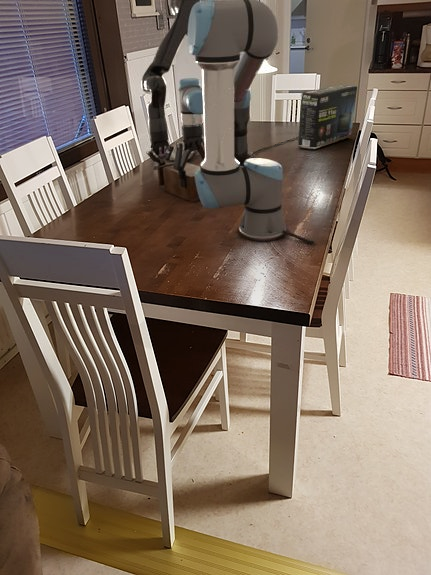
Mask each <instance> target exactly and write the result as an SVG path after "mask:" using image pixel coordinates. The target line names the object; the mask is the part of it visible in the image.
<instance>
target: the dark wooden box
mask: <svg viewBox="0 0 431 575" xmlns="http://www.w3.org/2000/svg"><path fill="white" fill-rule="evenodd" d="M173 167H174V165H172V166H168V167H164V173H165V184H166V186H165V192H166V193H168V194H170V195H174V196H176V197H179V198H181V199H183V200H186V201H189V202H190V203H195V202H197V201H200V198H199V195H198V191H197V187H196V182H195V172H196V171H198V170H199V171H200V165H195V164H192V163H189V162H187V163H186V165H185V168H184V170H185V171H186V185H187V188H184V187H181V181H180V179H179V174H178V170H175V169H173Z"/></svg>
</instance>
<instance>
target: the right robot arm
mask: <svg viewBox="0 0 431 575" xmlns="http://www.w3.org/2000/svg"><path fill="white" fill-rule="evenodd" d="M279 31H280V30H279V24H278V21H277V18H276V16H275V14H274V12H273V11H272V9H271V8H270V7H269V6H268V5H267V4H265V3H264V2H262V1H260V0H200V2H197V3H196V4H194V6H193V7H192V9H191V13H190V17H189V23H188V36H187V48H188V52H189V54H190V55H192V56H194V57H195V58H194V59H195V63H196V65H198V66H199V68H200V69H201V82H200V79H199V78H196V77H186V78H185V77H184V78H181V79H179V81H178V95H179V96H178V97H179V106H180V108H179V109H180V122H181V123H180V124H181V135H182V141H180V142H179V141H177V142H175V145H176V148H177V149H176V155H175V161H174V160H173V163H174V167H173V169H175V170H178V174H179V179H180V181H181V187H184V188H187V185H186V171H185V170H184V168H185V165H186V163H188V160H189V159H188V157H189V155H190V154H191V152H193V151H195V150H197V151H198V154H199V157H200V158H201V159H202V161H201V162H200V163H199V167H200V171H199V170H198V171H196V172H195V182H196V187H197V191H198V195H199V198H200V200H199V201H200V204H201V205H202V207H203V208H205V209H207V210H215V209H217V210H219V209H224V208H232V207H239V206H244V211H243V213H242V216H241V220H240V222H239V226H238V232H239V235H240V236H241V237H242V238H244V239H247V240H250V241H254V242H271V241H277V240H279V239H281V238H283V237H285V235H287V236H289V237H292V238H294V239H298V240H300V241H302V242H305V243H308V244H312V245H313V244H314V243H315V241H314V240H312V239H307V238H305V237H302V236H300V235H298V234H295V233H292V232H290V231H287V223H286V221H285V216H284V214H283V210H282V200H283V183H284V175H283V173H284V172H283V171H284V170H283V166H282V164H280V163H279V162H278V161H275V160H272V159H268V158H263V157H253V158H250V157H249V159H247V160H245V163H244V166H240V164H239V161H238V160H237V159H236V158H235V157H234V110H235V109H236V110H239V109H243V108H247V107H248V106H249V105H250V106H251V99H252V96H251V93H252V92H251V87H252V86H253V83H254V81H255V79H256V77H257V76H258V73H259V71H260V70H261V68H262V66H263V65H264V62H265V60H266V59H268V58H270V57H271V56H272V54H273V53H274V51H275V49H276V47H277V45H278V41H279V37H280V36H279V34H280V32H279ZM202 123H203V125H202ZM184 146H185V147H184ZM183 148H184V149H183ZM187 150H188V151H187ZM182 153H183V154H182Z"/></svg>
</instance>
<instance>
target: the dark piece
mask: <svg viewBox="0 0 431 575" xmlns="http://www.w3.org/2000/svg"><path fill="white" fill-rule="evenodd" d="M172 165H174V162H170V163H168V164H167V163H166V165H162V166H159V167H158V165H155V166H153V167H152V170H154V171H157V179H158V186H159V187H163V186H164V187H166V184H165V173H164V167H168V166H172Z"/></svg>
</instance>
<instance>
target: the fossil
mask: <svg viewBox="0 0 431 575" xmlns="http://www.w3.org/2000/svg"><path fill="white" fill-rule="evenodd" d="M173 147H174V150H173V152H172V154H171V156H170V158H169V160H168V161H173V162H174V161H175V155H176V149H177V148H176V144H175V145H174V146H173ZM184 147H185V146H184ZM183 149H184V148H183ZM187 151H188V150H187ZM182 154H183V153H182ZM197 154H199V152H198V151H197V150H195V151H193V152H191V154H190V155H189V157H188V160H190V159H191V158H192V157H193V156H194V155H197Z"/></svg>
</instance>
